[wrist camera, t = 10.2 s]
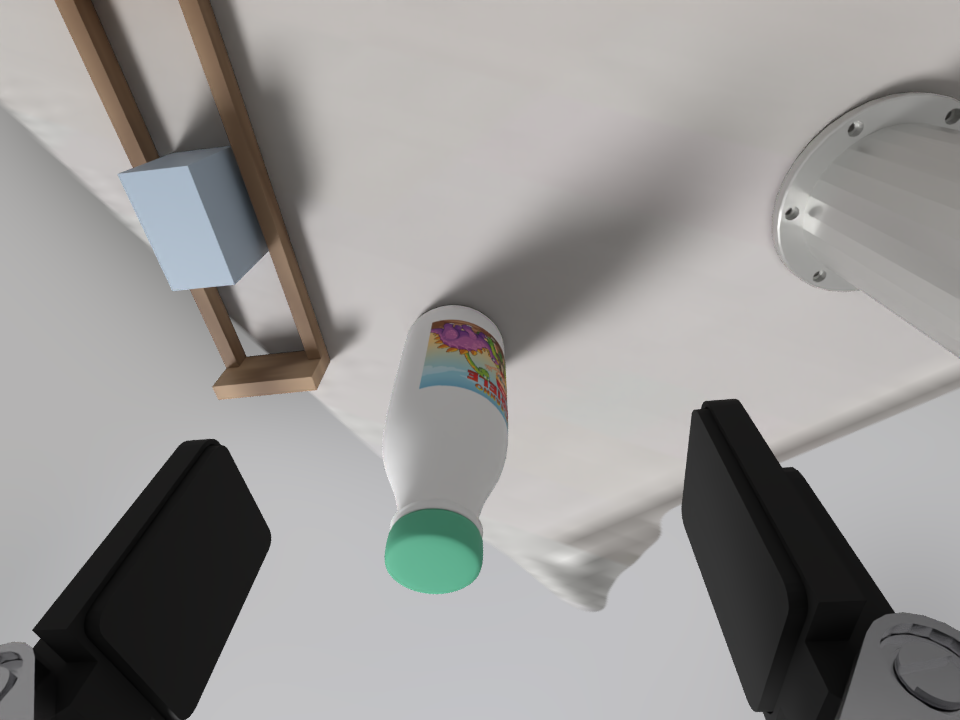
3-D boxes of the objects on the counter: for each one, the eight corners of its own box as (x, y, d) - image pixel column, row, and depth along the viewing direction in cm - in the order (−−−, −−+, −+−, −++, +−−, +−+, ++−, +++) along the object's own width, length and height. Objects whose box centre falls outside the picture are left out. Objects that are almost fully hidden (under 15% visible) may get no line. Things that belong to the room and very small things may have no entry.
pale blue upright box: (233, 145, 33) (187, 165, 28) (269, 249, 37) (234, 284, 31) (173, 152, 33) (117, 174, 28) (215, 255, 37) (172, 291, 32)
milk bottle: (449, 400, 43) (426, 634, 27) (385, 338, 40) (312, 558, 23) (523, 352, 41) (549, 577, 24) (461, 282, 38) (441, 484, 21)
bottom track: (191, -54, 27) (149, -66, 24) (330, 360, 41) (316, 390, 38) (58, -31, 28) (-1, -40, 25) (240, 370, 42) (218, 399, 39)
